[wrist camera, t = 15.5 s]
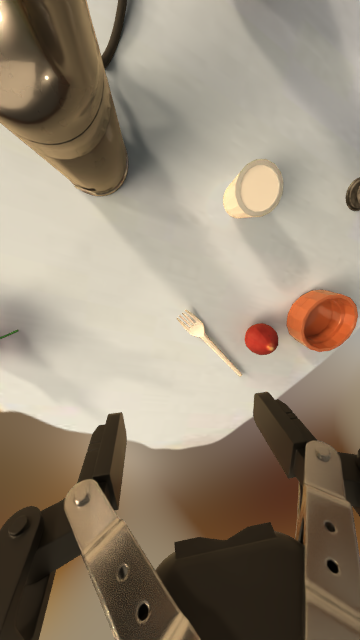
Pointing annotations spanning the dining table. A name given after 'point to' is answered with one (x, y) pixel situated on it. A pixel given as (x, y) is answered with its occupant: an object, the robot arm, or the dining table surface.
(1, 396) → the dining table surface
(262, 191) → the cream cylinder
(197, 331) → the fork
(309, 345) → the bowl
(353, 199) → the pawn-shaped pepper mill
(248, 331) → the onion
